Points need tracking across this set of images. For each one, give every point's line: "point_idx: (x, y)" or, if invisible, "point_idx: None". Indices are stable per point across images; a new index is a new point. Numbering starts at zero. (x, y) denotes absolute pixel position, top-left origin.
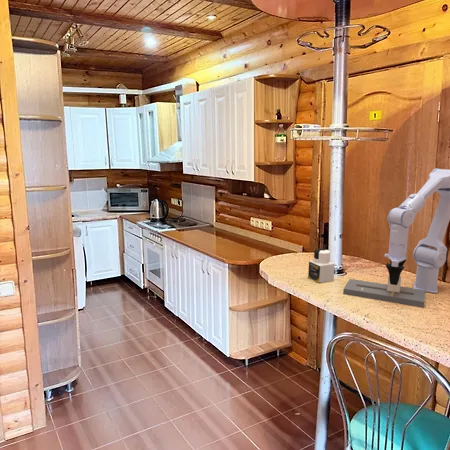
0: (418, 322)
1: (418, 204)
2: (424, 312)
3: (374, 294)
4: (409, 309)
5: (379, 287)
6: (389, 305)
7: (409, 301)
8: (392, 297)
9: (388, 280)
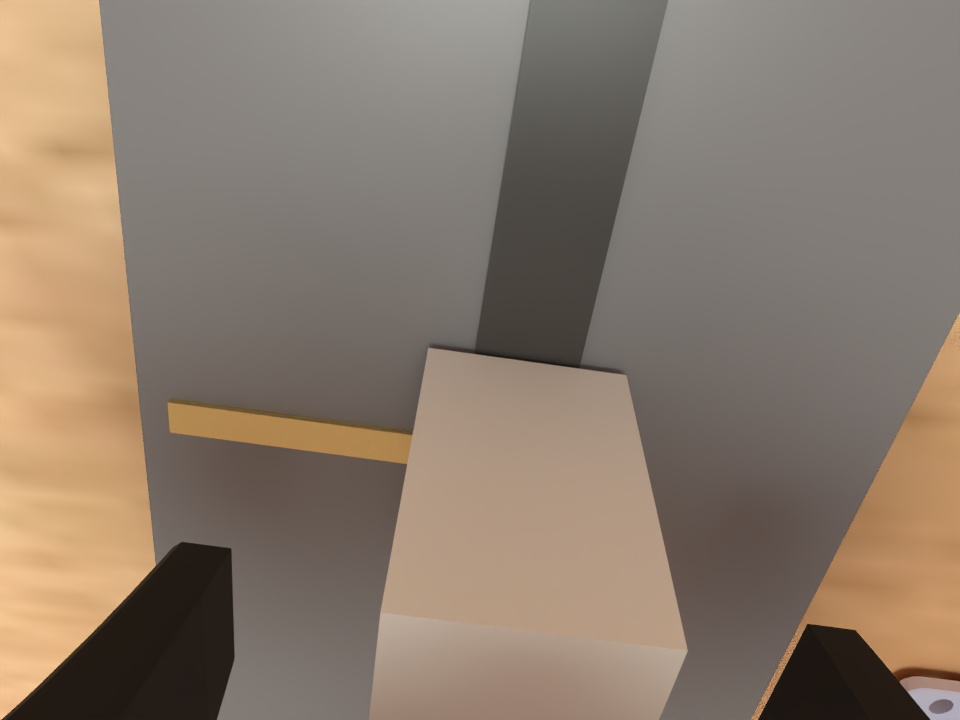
0: None
1: None
2: (45, 675)
3: (115, 46)
4: (31, 549)
5: (660, 192)
6: (5, 307)
7: None
8: (144, 410)
9: (394, 536)
